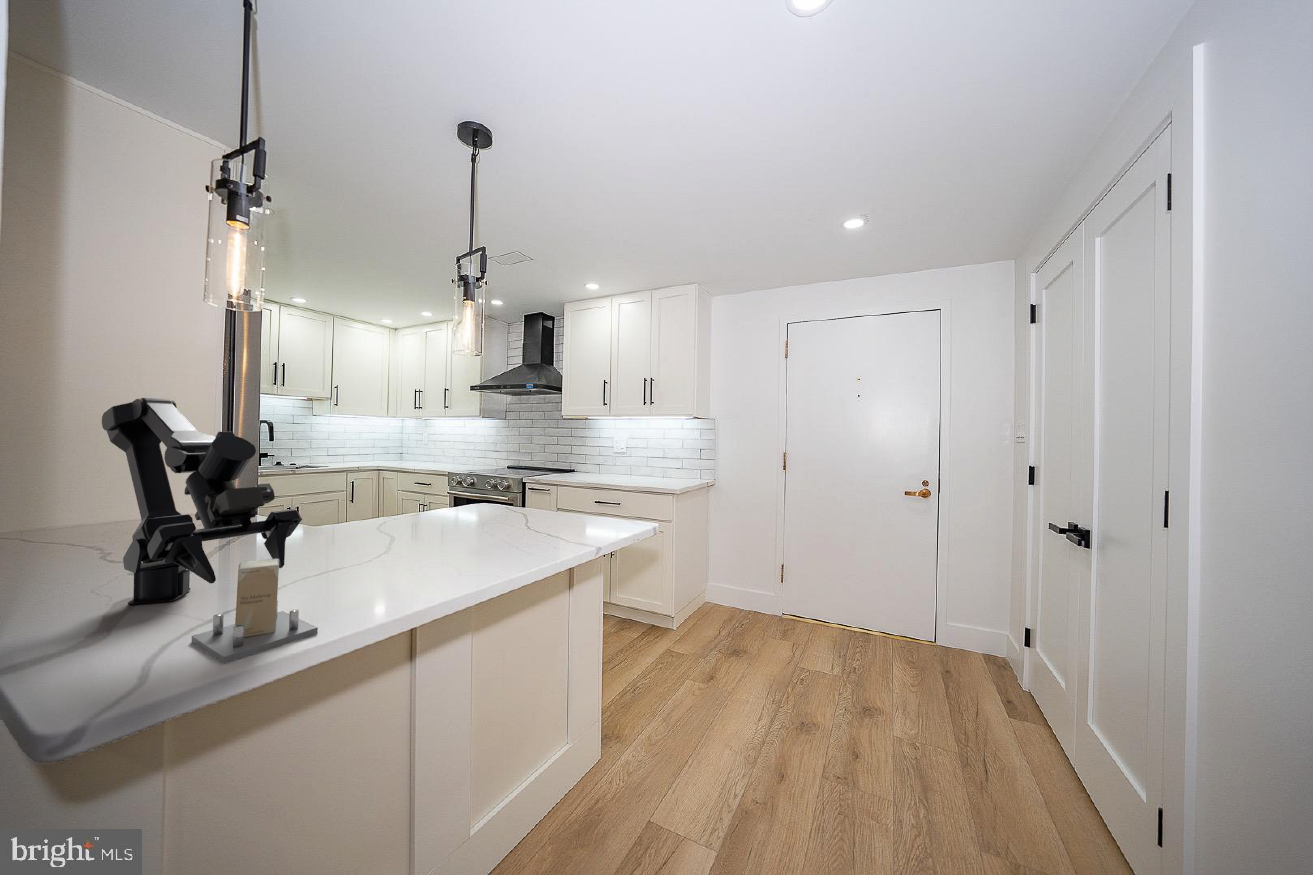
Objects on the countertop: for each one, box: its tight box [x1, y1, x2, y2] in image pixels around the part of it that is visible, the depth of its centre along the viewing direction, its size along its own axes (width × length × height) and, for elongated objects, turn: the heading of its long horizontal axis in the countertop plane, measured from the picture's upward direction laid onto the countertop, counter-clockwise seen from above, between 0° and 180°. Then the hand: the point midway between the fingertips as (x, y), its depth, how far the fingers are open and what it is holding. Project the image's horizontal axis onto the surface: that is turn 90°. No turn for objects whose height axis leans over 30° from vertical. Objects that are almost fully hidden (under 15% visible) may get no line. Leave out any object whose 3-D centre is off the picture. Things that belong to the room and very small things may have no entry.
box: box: [234, 558, 280, 637], centre depth 76 cm, size 5×4×11 cm
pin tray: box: [191, 599, 319, 665], centre depth 75 cm, size 12×12×4 cm
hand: (249, 573), depth 76 cm, fingers open, 9 cm apart
